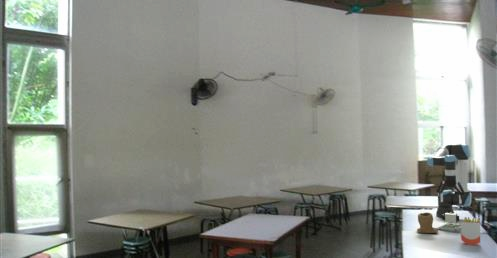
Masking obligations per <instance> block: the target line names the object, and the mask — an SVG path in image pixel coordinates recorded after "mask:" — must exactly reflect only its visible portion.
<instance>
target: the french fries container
mask: <svg viewBox="0 0 497 258" xmlns="http://www.w3.org/2000/svg"><path fill="white" fill-rule="evenodd" d="M463 218H464V219H462V220H461V221H460V223H461V224H460V225H461V232H460V239H461V241H462V242H463V243H464V244H465V245H466V246H467V245H468V246H469V245H470V246H477V245H478V244H480V243H481V222H480V218H477V219H475V217H472V219H470V217H469V216H465V217H463Z"/></svg>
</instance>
